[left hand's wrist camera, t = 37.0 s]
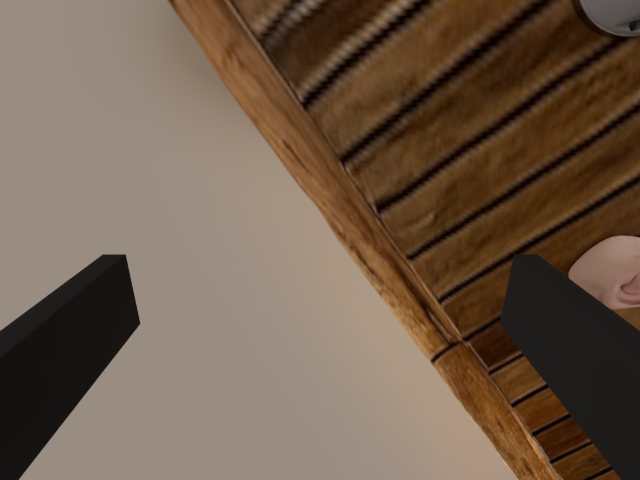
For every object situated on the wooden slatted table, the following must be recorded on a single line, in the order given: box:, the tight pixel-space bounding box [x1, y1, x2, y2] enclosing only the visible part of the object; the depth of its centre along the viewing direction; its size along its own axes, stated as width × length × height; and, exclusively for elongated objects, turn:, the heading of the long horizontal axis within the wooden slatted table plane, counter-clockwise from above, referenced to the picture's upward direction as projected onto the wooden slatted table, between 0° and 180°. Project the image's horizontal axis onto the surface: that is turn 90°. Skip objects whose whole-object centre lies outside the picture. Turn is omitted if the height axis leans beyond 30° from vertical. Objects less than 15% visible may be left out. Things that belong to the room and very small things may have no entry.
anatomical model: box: [569, 236, 640, 310], centre depth 52 cm, size 13×4×12 cm
